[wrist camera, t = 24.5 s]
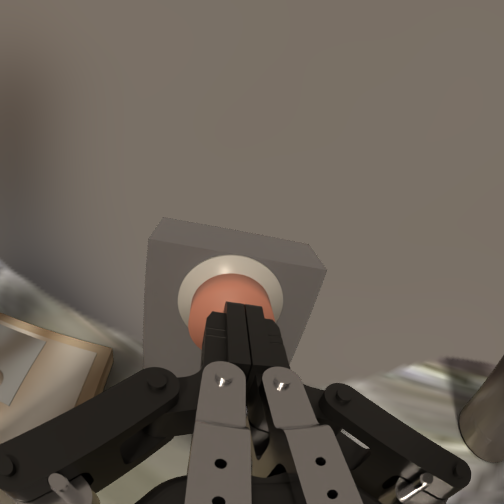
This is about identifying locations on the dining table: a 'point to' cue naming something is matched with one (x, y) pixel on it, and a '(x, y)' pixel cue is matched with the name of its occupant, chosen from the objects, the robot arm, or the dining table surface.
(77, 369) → the beige board with ring
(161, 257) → the button panel
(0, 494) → the white shaker grey cap
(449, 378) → the dining table surface
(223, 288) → the button
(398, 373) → the dining table surface
